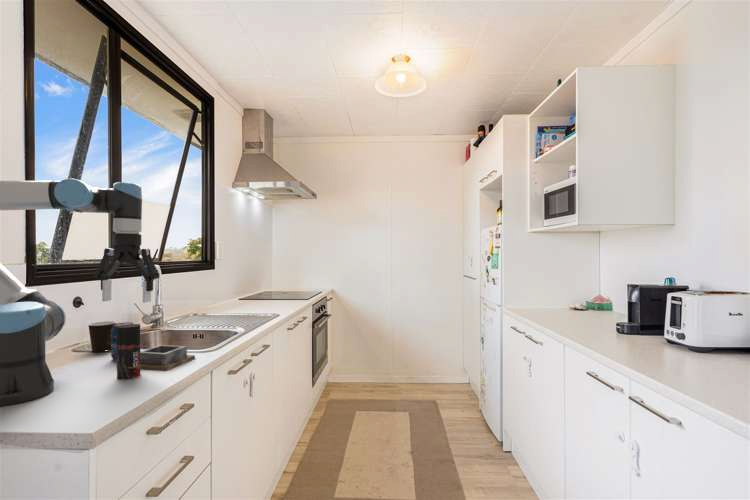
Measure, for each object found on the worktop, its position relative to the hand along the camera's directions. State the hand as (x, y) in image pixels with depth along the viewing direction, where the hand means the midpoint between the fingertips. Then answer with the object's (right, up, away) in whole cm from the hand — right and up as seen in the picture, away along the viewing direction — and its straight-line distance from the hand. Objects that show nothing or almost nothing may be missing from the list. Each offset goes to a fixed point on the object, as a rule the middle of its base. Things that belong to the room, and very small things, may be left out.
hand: (126, 301), depth 124 cm
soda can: (-9, -22, +13) cm, 27 cm away
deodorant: (+4, -22, -5) cm, 23 cm away
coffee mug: (-24, -22, +27) cm, 42 cm away
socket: (+7, -21, +8) cm, 24 cm away
